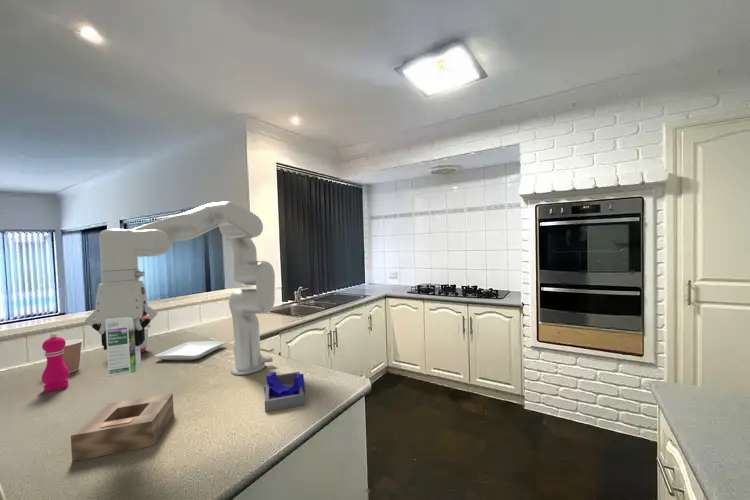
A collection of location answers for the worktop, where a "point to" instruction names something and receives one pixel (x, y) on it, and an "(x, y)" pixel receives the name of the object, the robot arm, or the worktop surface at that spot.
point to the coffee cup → (72, 354)
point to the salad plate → (190, 350)
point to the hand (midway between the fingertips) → (124, 345)
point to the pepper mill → (54, 364)
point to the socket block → (122, 427)
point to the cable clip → (281, 390)
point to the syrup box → (121, 346)
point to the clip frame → (287, 400)
